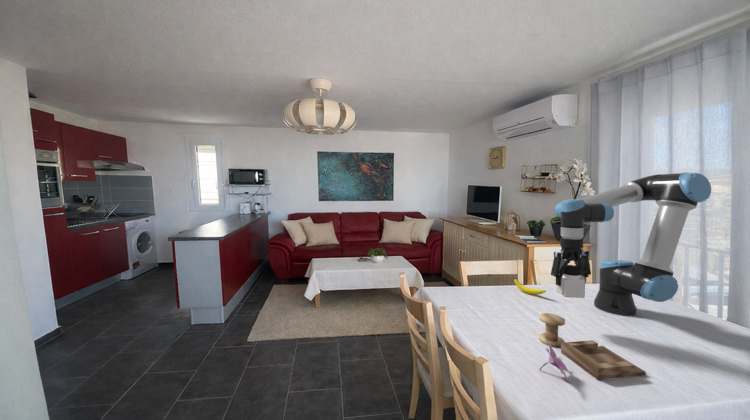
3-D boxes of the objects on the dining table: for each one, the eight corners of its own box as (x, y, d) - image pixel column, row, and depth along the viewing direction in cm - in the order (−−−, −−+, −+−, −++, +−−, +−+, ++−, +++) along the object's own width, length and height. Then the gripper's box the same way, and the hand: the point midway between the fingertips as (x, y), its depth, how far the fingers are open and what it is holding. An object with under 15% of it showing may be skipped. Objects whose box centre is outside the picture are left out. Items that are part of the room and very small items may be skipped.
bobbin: (553, 335, 107) (553, 312, 106) (569, 346, 99) (570, 322, 98) (534, 336, 106) (534, 313, 105) (549, 348, 98) (550, 323, 97)
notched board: (602, 349, 97) (603, 339, 97) (645, 375, 83) (646, 364, 83) (561, 352, 95) (561, 342, 95) (597, 380, 81) (598, 368, 81)
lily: (556, 395, 77) (577, 369, 75) (519, 359, 86) (536, 336, 84) (568, 388, 85) (587, 365, 83) (533, 356, 94) (549, 335, 92)
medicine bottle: (585, 298, 108) (585, 268, 107) (564, 297, 109) (565, 267, 108) (575, 291, 115) (576, 263, 114) (556, 290, 116) (557, 263, 115)
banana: (544, 300, 140) (544, 288, 140) (511, 288, 157) (511, 278, 157) (548, 299, 142) (548, 287, 141) (515, 288, 159) (515, 277, 158)
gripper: (587, 235, 115) (586, 287, 117) (540, 237, 113) (539, 290, 115) (604, 238, 108) (602, 294, 109) (554, 240, 106) (553, 297, 107)
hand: (570, 292), depth 112 cm, fingers closed on medicine bottle, 8 cm apart
